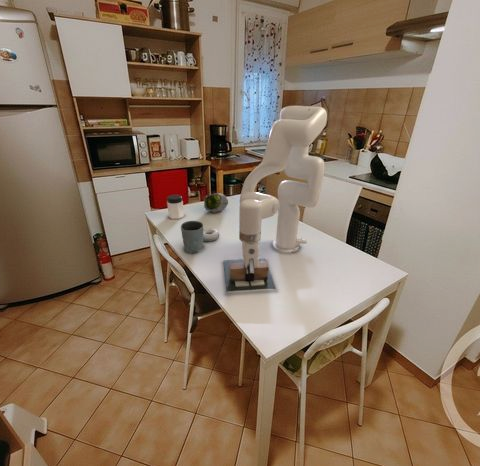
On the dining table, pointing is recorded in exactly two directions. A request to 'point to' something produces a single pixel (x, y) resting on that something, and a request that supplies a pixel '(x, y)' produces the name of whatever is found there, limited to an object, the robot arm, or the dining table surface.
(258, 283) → the chalk mark
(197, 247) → the gray cup
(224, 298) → the dining table surface
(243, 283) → the chalk mark
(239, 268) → the eraser
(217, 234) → the donut
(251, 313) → the dining table surface
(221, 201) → the potted plant
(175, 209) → the jar
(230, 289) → the slate board
